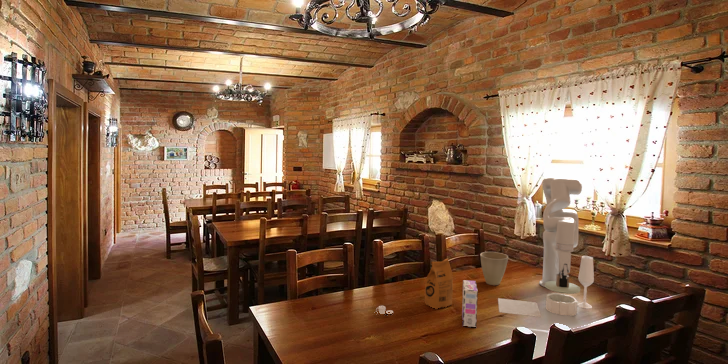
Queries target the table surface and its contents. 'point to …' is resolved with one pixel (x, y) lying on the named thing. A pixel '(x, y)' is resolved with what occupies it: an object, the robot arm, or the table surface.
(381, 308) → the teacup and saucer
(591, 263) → the champagne flute
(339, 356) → the table surface
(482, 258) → the plant pot
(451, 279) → the coffee package
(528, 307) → the mat
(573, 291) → the lid
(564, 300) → the bowl
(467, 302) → the candy box
